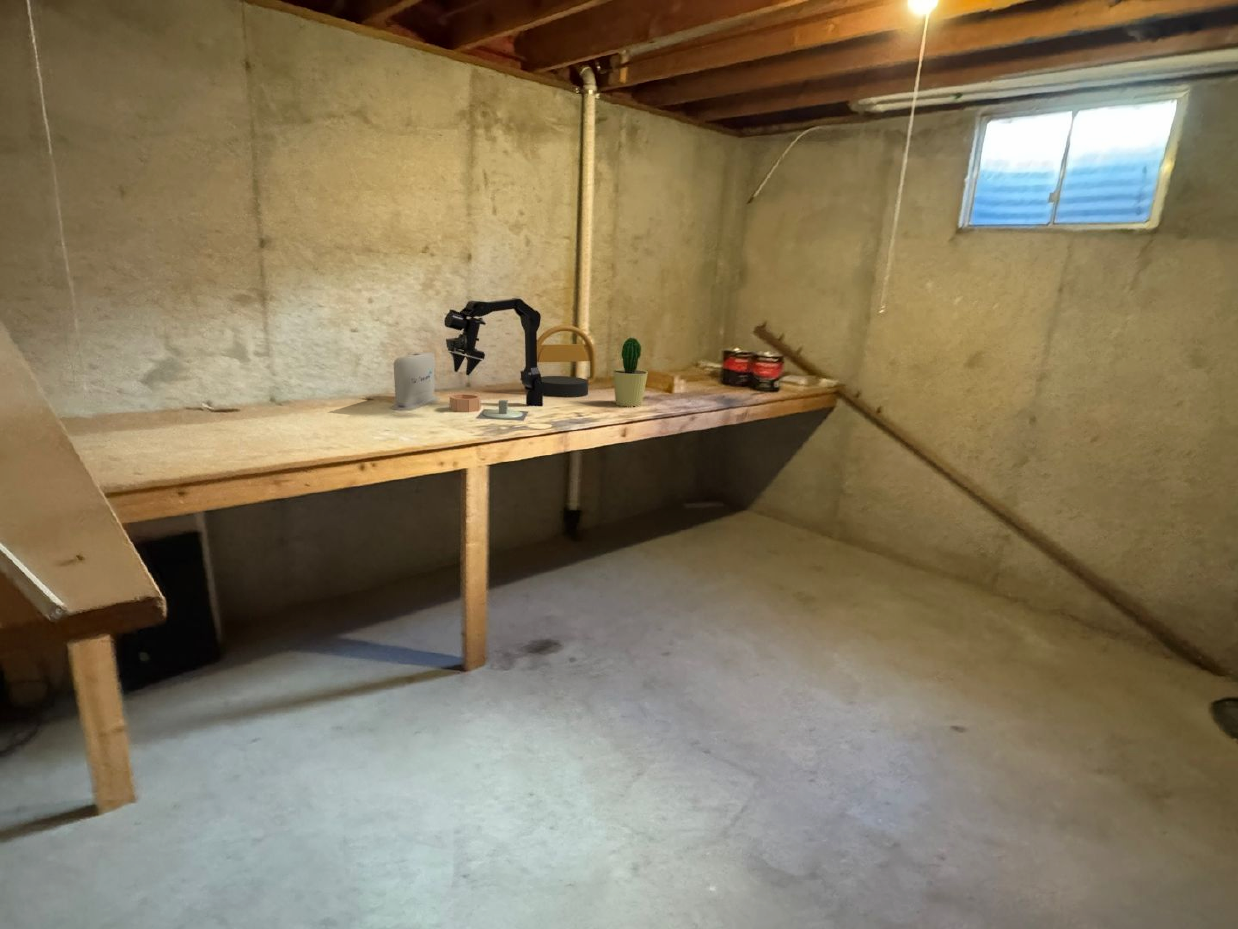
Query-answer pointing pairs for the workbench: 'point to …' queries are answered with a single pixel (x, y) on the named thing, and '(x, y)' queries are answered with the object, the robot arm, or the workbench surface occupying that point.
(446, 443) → the workbench surface
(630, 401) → the potted cactus
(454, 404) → the bowl
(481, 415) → the mat
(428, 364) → the wireless router
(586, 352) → the chair
